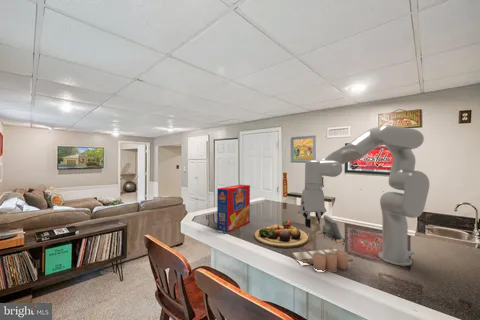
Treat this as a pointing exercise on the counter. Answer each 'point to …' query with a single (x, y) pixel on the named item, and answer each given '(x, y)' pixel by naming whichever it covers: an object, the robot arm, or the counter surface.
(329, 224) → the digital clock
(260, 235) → the wooden plate with food
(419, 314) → the counter surface
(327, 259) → the tan short cylinder
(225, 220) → the pasta box
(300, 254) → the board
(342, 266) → the tan short cylinder
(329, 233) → the eyeglasses
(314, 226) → the beige block
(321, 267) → the tan short cylinder
